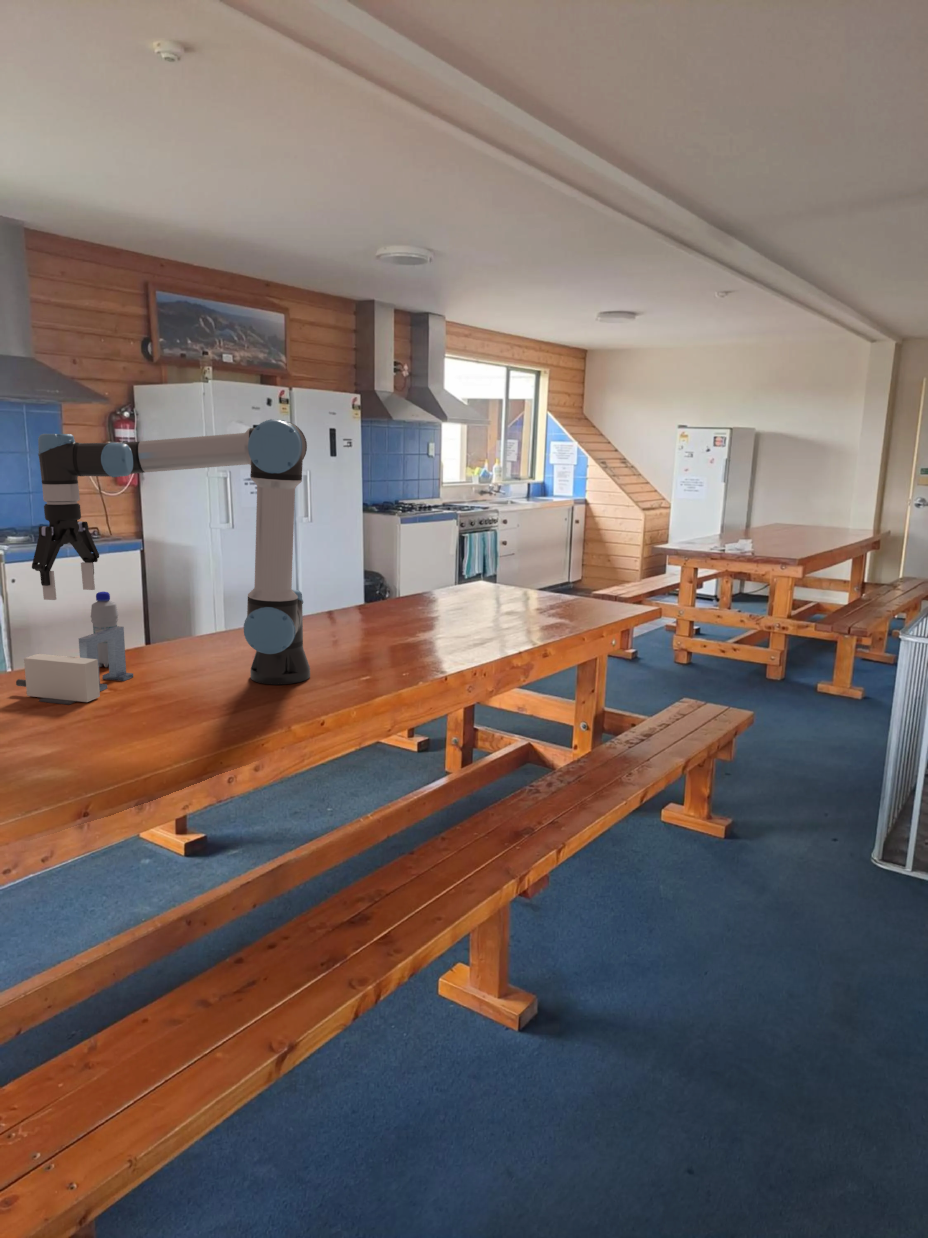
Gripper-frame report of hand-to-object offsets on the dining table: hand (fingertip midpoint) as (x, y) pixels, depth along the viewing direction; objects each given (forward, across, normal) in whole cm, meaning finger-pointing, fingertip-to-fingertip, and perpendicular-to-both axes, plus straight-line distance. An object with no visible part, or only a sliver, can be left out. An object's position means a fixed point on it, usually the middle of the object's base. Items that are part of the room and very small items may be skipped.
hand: (70, 594), depth 196 cm
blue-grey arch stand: (+24, -8, +2) cm, 25 cm away
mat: (+24, +5, 0) cm, 24 cm away
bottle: (+24, -23, -8) cm, 34 cm away
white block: (+23, +5, -2) cm, 24 cm away
